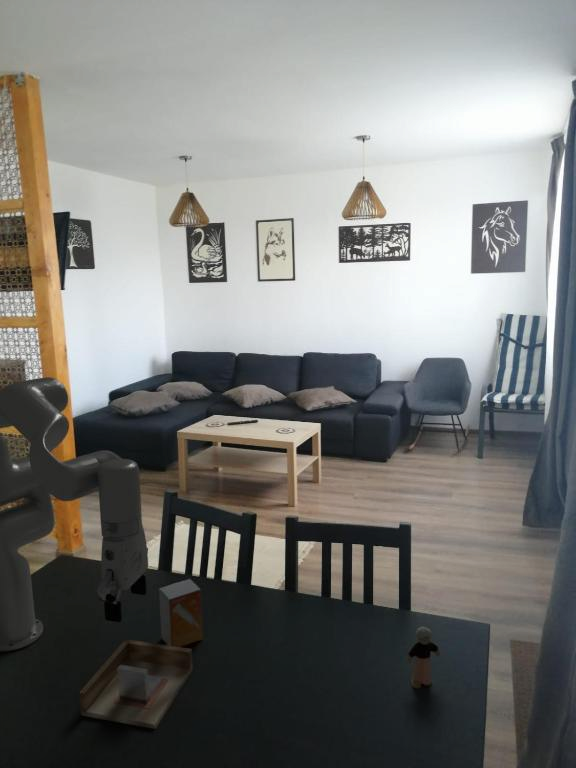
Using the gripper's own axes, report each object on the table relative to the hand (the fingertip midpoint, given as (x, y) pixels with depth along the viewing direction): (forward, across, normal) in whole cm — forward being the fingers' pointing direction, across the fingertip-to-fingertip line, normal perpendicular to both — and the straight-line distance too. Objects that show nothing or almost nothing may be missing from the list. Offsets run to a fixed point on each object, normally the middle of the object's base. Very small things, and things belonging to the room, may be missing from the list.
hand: (126, 606), depth 118 cm
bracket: (+20, +3, -1) cm, 21 cm away
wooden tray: (+22, +4, 0) cm, 22 cm away
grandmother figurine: (+21, +20, -57) cm, 64 cm away
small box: (+22, +23, -1) cm, 31 cm away
